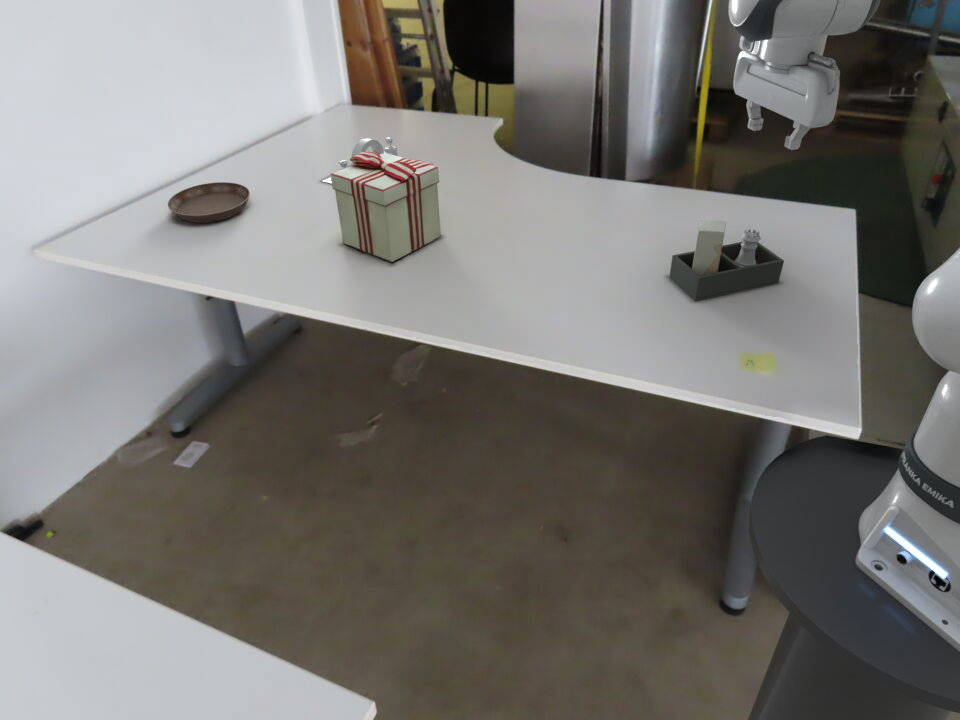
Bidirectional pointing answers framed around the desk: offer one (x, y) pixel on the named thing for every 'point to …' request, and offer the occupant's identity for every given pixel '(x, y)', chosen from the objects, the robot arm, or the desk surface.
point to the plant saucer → (209, 201)
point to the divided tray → (726, 272)
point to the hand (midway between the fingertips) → (772, 138)
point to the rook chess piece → (748, 248)
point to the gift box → (387, 204)
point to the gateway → (362, 147)
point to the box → (708, 246)
